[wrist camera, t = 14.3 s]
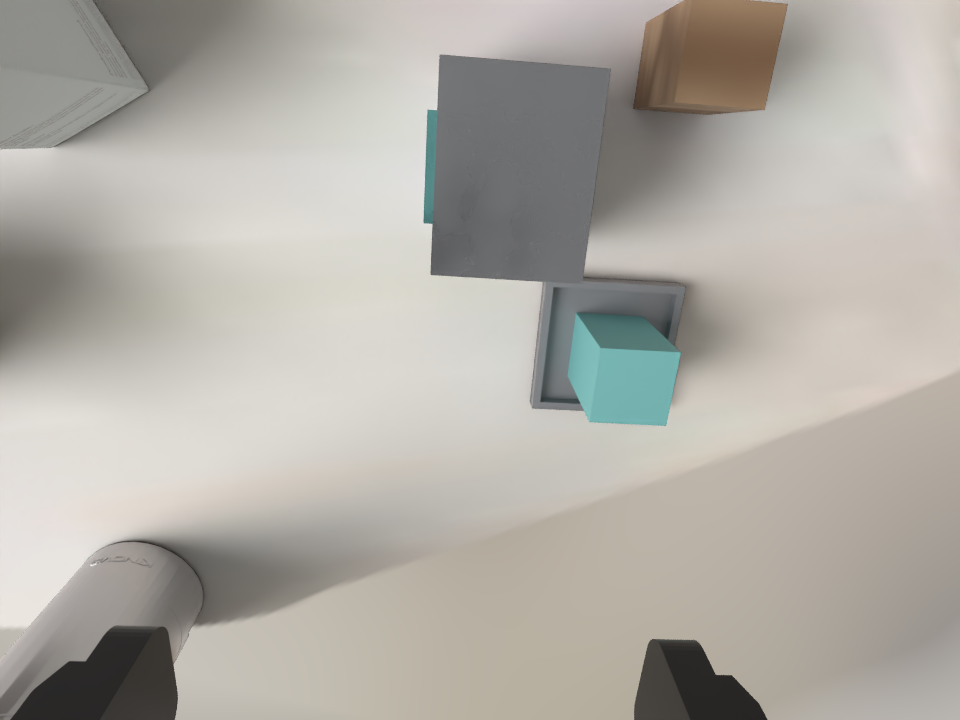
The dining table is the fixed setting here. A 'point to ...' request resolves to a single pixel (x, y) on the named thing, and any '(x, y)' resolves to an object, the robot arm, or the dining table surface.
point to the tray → (595, 297)
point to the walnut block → (709, 57)
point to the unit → (513, 168)
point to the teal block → (622, 369)
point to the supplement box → (59, 71)
